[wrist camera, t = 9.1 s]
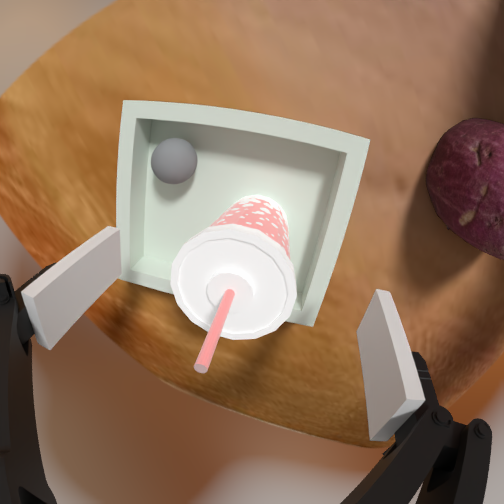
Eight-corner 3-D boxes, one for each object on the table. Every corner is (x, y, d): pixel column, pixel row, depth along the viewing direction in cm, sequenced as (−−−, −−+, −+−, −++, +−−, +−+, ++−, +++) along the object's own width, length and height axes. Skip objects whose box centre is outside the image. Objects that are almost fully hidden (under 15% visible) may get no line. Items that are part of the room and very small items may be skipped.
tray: (359, 136, 19) (370, 139, 16) (311, 301, 25) (312, 326, 22) (146, 101, 20) (123, 100, 17) (137, 259, 26) (118, 278, 23)
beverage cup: (233, 170, 21) (133, 258, 8) (313, 206, 21) (329, 344, 8) (205, 242, 23) (114, 376, 11) (277, 274, 24) (249, 433, 11)
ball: (206, 139, 20) (191, 143, 17) (200, 182, 21) (185, 193, 18) (165, 133, 20) (144, 137, 17) (160, 175, 21) (141, 185, 19)
